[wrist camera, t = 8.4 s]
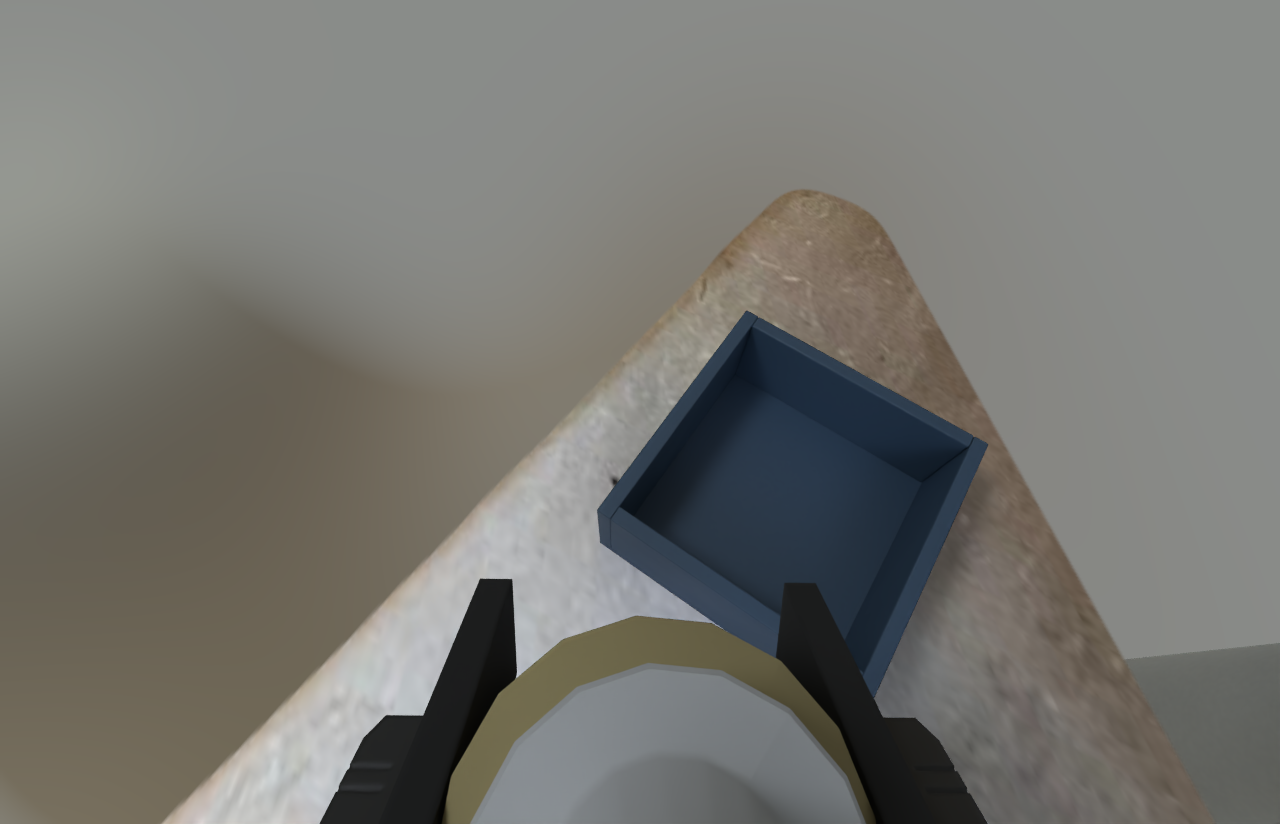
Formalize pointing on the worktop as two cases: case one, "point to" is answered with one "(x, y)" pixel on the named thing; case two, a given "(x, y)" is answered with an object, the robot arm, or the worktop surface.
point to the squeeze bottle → (656, 737)
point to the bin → (793, 494)
